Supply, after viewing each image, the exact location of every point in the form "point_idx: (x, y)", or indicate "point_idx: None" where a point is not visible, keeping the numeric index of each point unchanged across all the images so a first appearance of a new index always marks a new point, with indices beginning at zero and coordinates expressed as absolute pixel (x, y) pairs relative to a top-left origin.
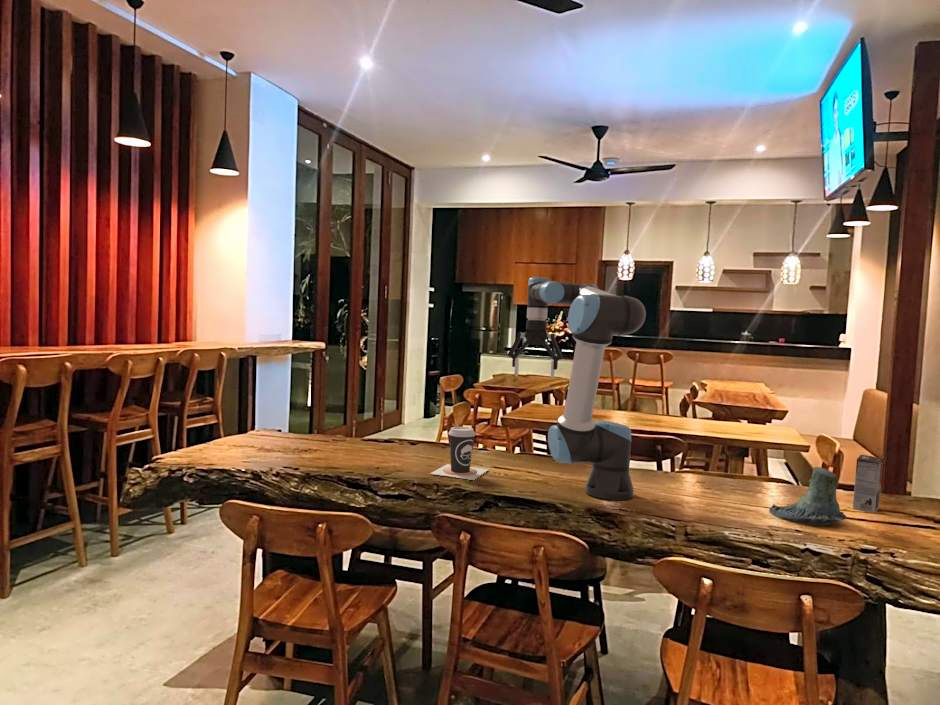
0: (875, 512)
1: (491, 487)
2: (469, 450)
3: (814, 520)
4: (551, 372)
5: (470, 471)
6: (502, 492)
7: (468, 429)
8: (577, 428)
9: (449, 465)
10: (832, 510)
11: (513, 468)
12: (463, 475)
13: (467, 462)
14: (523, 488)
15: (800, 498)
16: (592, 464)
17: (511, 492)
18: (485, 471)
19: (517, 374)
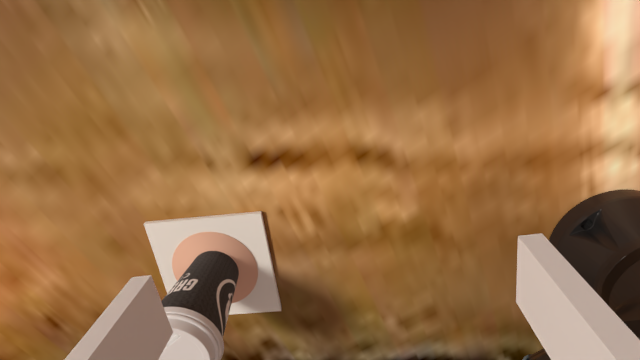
0: None
1: (338, 327)
2: (227, 317)
3: None
4: (554, 351)
5: (238, 262)
6: (373, 345)
7: (189, 346)
8: None
9: (158, 235)
10: None
11: (302, 142)
12: (244, 296)
13: (233, 295)
14: (402, 301)
15: None
16: (603, 297)
17: (389, 337)
18: (265, 236)
19: (152, 306)
